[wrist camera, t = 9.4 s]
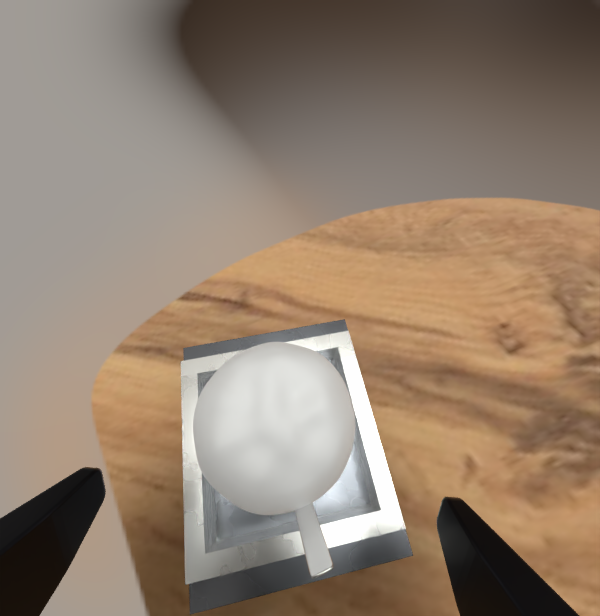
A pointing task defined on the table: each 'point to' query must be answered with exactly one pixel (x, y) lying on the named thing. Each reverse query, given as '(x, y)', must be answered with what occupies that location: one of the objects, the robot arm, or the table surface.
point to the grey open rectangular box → (284, 527)
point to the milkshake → (276, 436)
